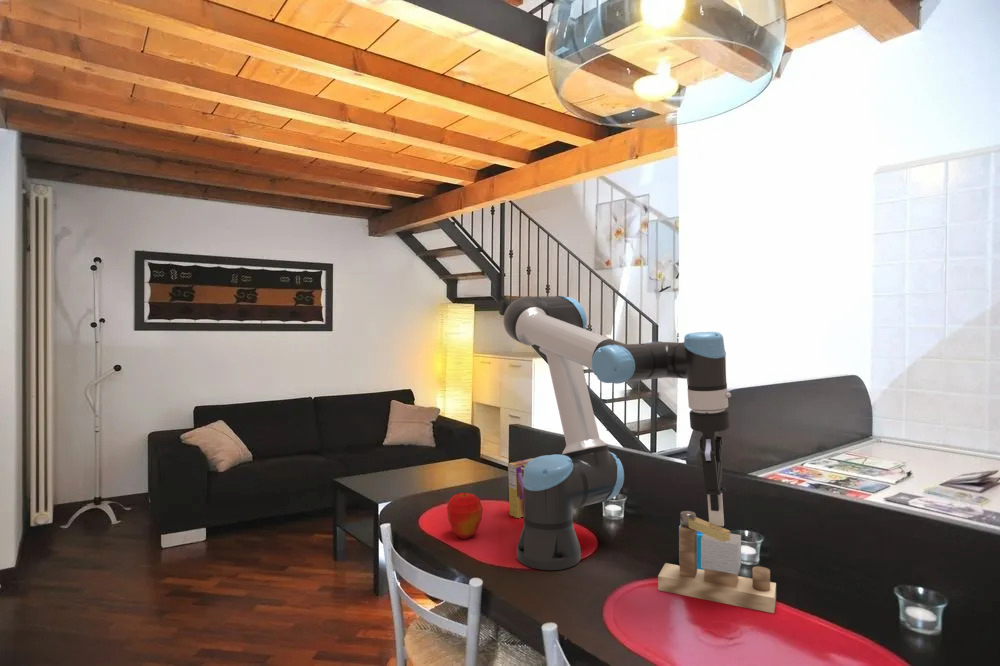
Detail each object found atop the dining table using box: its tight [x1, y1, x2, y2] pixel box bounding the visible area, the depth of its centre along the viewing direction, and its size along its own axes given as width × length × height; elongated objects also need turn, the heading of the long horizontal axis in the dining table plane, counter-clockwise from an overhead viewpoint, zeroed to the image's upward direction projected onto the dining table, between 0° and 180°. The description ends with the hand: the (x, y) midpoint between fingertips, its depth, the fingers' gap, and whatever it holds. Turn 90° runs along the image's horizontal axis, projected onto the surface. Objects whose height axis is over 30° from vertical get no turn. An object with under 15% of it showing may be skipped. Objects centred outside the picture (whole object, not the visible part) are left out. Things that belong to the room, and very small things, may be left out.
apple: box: [446, 492, 483, 540], centre depth 155 cm, size 9×9×12 cm
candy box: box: [507, 458, 533, 519], centre depth 171 cm, size 9×4×15 cm, turn 127°
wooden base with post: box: [657, 524, 777, 614], centre depth 122 cm, size 22×7×13 cm, turn 62°
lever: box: [680, 510, 731, 542], centre depth 120 cm, size 12×3×2 cm, turn 27°
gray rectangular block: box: [701, 532, 742, 575], centre depth 121 cm, size 7×6×6 cm
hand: (716, 524), depth 120 cm, fingers closed
